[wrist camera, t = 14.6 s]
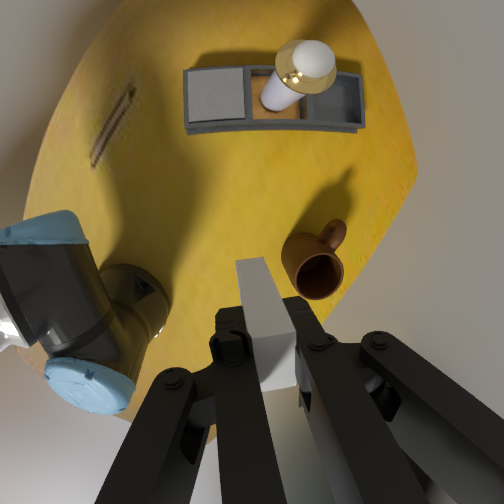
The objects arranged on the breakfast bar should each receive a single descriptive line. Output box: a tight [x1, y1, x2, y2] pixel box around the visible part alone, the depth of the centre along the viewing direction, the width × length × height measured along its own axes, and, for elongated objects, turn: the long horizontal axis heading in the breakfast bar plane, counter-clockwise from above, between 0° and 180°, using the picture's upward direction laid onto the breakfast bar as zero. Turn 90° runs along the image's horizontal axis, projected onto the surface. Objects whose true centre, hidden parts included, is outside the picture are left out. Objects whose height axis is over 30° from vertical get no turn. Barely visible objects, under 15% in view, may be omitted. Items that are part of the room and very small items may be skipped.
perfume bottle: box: [260, 40, 336, 111], centre depth 25 cm, size 6×6×20 cm
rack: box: [183, 65, 365, 135], centre depth 33 cm, size 26×10×5 cm, turn 92°
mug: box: [281, 219, 347, 300], centre depth 40 cm, size 12×8×9 cm, turn 155°
